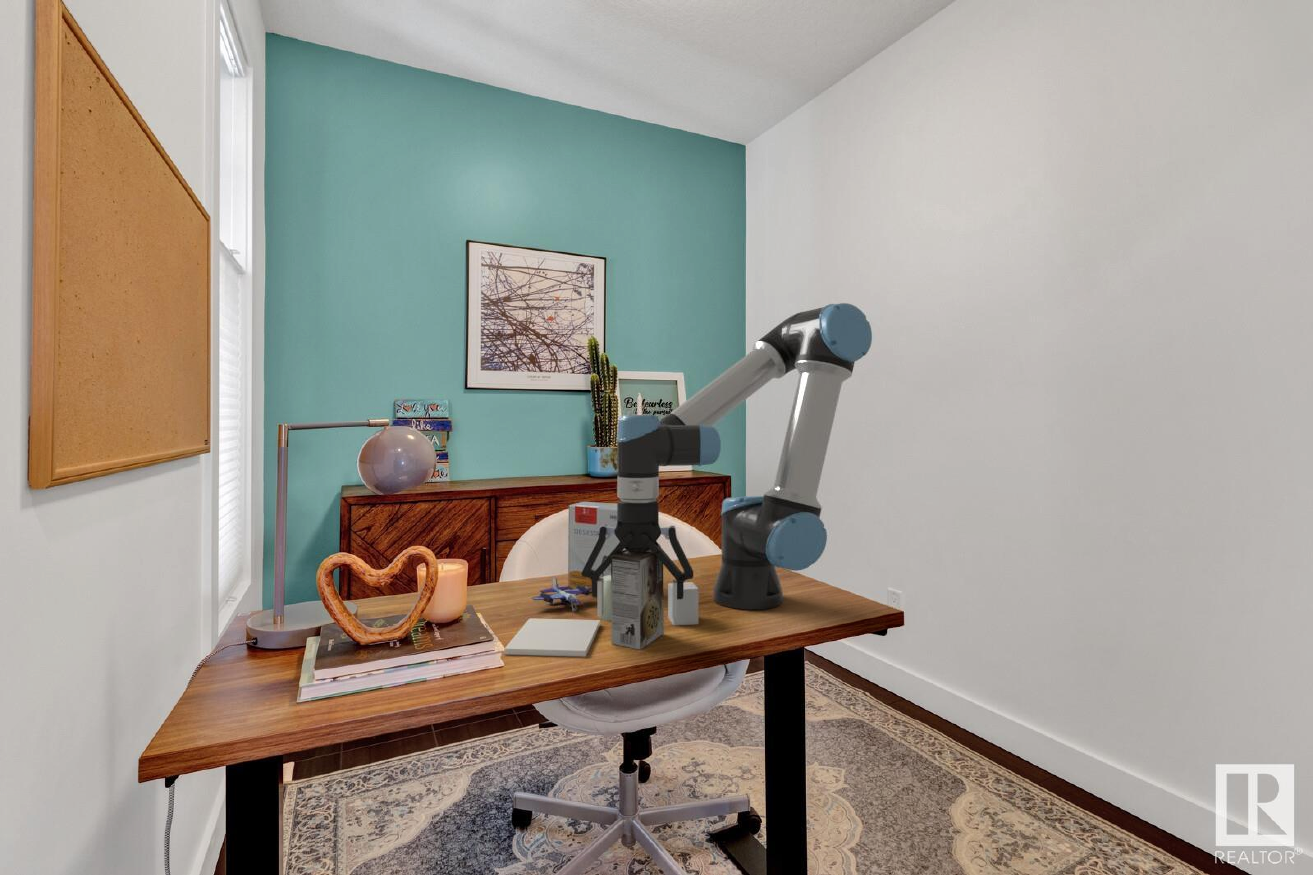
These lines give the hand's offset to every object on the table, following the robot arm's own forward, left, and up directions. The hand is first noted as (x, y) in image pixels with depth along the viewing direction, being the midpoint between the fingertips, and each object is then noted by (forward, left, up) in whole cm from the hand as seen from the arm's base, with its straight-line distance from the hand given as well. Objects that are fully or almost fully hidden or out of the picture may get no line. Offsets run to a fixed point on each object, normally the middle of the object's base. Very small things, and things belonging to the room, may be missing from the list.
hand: (637, 615), depth 115 cm
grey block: (-8, -11, -4) cm, 14 cm away
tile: (+15, +1, -4) cm, 16 cm away
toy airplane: (+17, -18, -5) cm, 25 cm away
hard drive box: (+11, -32, -4) cm, 34 cm away
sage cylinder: (+6, -12, -4) cm, 14 cm away
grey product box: (0, 0, -4) cm, 4 cm away
